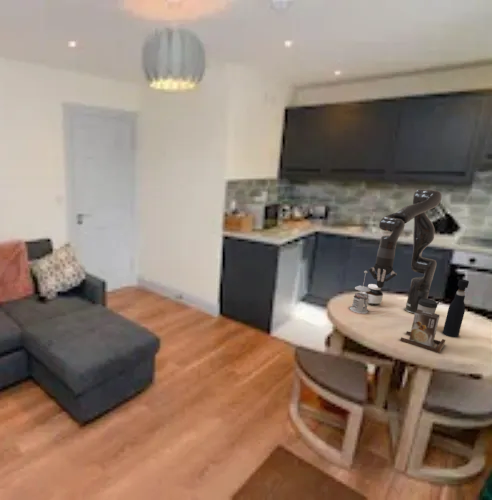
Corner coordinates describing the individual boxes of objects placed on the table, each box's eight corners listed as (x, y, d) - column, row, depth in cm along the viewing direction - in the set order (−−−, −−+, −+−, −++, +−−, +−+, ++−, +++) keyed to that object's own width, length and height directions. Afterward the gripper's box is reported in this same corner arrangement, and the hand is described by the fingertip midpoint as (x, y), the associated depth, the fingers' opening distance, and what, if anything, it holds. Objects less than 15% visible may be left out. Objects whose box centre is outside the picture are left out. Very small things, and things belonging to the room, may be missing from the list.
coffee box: (433, 344, 181) (440, 314, 177) (430, 349, 177) (437, 318, 173) (411, 337, 188) (418, 308, 183) (408, 341, 183) (414, 312, 179)
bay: (406, 333, 192) (407, 328, 191) (444, 345, 180) (445, 339, 180) (400, 340, 185) (401, 335, 184) (439, 353, 173) (440, 347, 172)
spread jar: (383, 306, 226) (386, 288, 223) (367, 307, 224) (370, 289, 221) (368, 298, 237) (371, 281, 234) (352, 299, 235) (355, 282, 232)
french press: (361, 306, 224) (368, 268, 218) (374, 315, 213) (381, 274, 207) (346, 306, 224) (352, 268, 218) (357, 315, 213) (364, 274, 206)
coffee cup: (435, 330, 195) (441, 304, 191) (417, 329, 197) (423, 303, 193) (426, 323, 203) (432, 298, 199) (410, 322, 204) (415, 297, 201)
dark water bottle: (439, 331, 194) (452, 278, 186) (450, 331, 194) (463, 278, 187) (450, 337, 188) (464, 282, 180) (461, 337, 188) (476, 282, 180)
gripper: (402, 257, 186) (396, 289, 190) (373, 252, 195) (368, 282, 200) (398, 260, 181) (391, 292, 185) (368, 254, 190) (363, 285, 195)
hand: (379, 287), depth 192 cm, fingers closed
